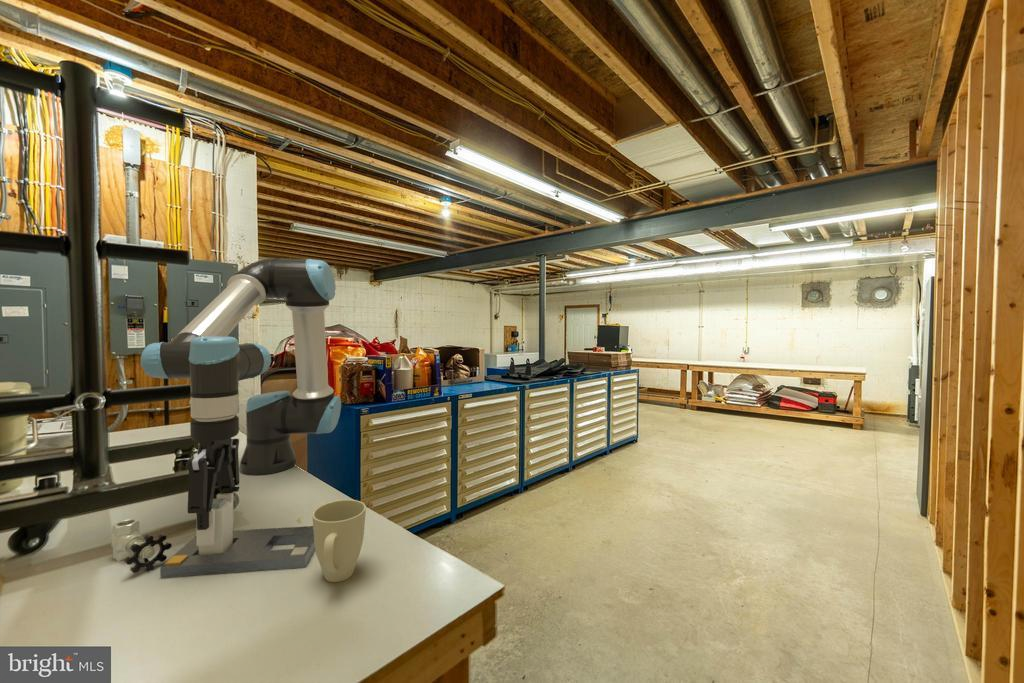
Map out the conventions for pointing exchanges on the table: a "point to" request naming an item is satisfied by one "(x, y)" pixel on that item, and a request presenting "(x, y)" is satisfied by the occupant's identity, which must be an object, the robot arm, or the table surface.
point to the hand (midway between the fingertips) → (216, 534)
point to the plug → (221, 528)
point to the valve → (136, 545)
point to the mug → (339, 537)
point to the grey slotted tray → (245, 553)
